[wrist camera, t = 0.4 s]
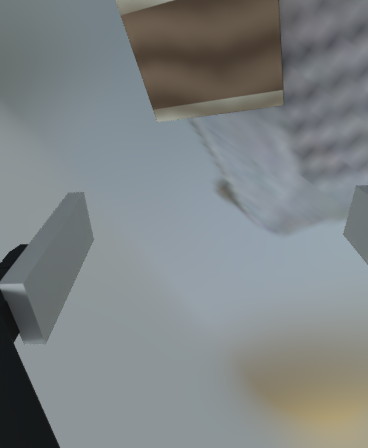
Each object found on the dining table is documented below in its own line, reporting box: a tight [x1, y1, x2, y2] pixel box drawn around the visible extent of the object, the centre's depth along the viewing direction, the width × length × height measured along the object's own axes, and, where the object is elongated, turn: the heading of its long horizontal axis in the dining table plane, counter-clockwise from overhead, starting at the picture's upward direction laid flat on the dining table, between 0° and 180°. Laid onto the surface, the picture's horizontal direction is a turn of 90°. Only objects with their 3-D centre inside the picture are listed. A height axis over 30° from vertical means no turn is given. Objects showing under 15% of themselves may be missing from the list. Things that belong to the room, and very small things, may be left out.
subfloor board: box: [116, 0, 284, 122], centre depth 36 cm, size 23×18×1 cm
